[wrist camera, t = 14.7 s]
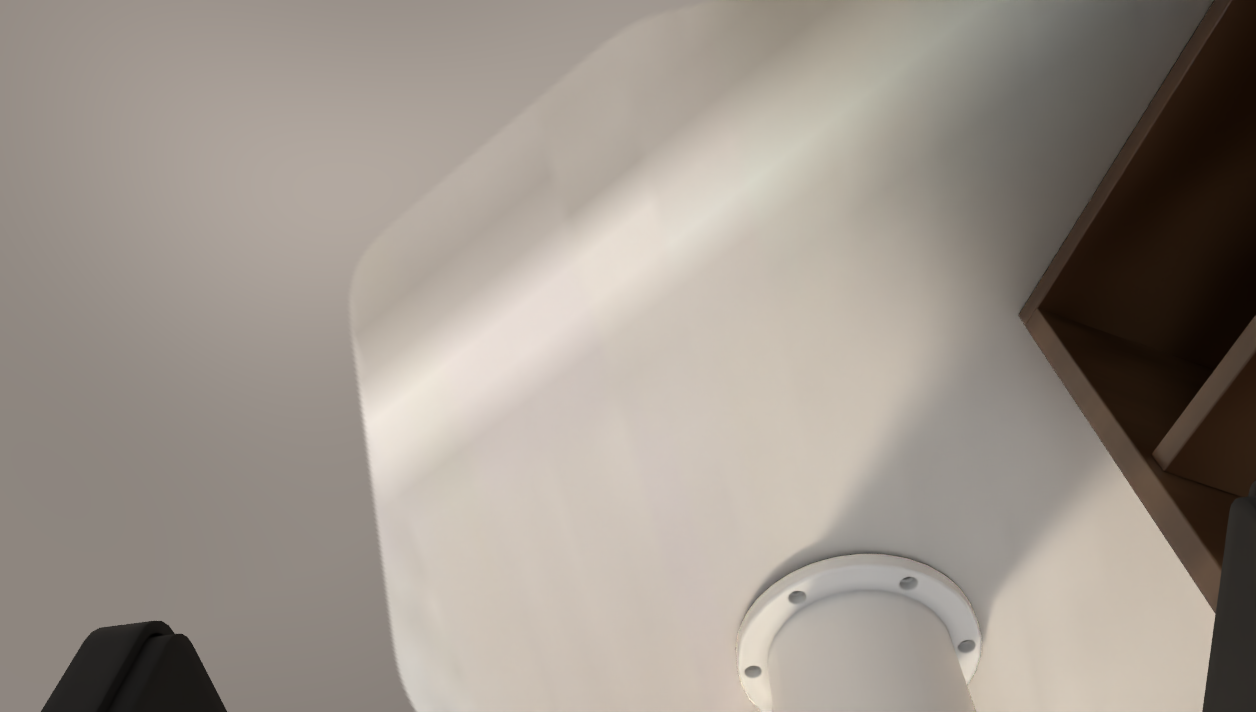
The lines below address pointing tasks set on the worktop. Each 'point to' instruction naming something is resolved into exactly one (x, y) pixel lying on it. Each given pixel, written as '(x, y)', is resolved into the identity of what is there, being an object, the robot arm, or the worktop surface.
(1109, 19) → the worktop surface
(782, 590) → the robot arm
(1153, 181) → the cupboard
